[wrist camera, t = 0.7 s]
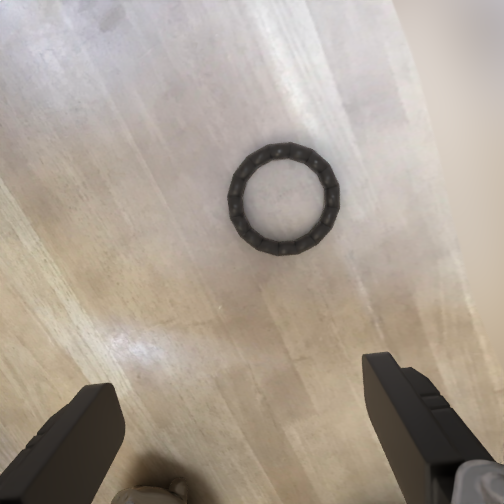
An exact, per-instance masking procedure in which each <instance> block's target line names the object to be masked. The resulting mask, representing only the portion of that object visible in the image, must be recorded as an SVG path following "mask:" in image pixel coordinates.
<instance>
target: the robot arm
mask: <svg viewBox="0 0 504 504" xmlns="http://www.w3.org/2000/svg"><path fill="white" fill-rule="evenodd" d="M362 369H363V384H364V397H365V403H366V408H367V412H368V415H369V418H370V420H371V423H372V425H373V427H374V430H375V432H376V434H377V436H378V439H379V441H380V443H381V446H382V448H383V450H384V452H385V455H386V457H387V459H388V462H389V464H390V466H391V468H392V471H393V473H394V475H395V477H396V480H397V482H398V484H399V487H400V489H401V491H402V493H403V496H404V498H405V500H406V503H407V504H504V465H503V464H500V463H497V462H496V461H495V460H494V459H493V458H492V456H491V455H490V454H489V453H488V451H487V450H486V449H485V448H484V447H483V445H482V444H481V443H480V442H479V440H478V439H477V438H476V437H475V435H474V434H473V433H472V432H471V430H470V429H469V428H468V427H467V426H466V424H465V423H464V422H463V421H462V419H461V418H460V417H459V416H458V414H457V413H456V412H455V411H454V409H453V408H451V407H450V405H449V403H448V402H447V401H446V400H445V398H444V397H443V396H442V395H440V392H439V391H438V390H437V388H436V387H435V386H434V385H433V383H432V382H431V381H430V380H429V379H428V378H427V377H426V376H424V375H423V374H421V373H419V372H418V371H416V370H415V369H413V368H412V367H408V368H400V367H399V365H398V364H397V362H396V361H395V359H394V358H393V357H392V355H391V354H390V353H389V352H380V353H371V354H363V355H362ZM124 435H125V420H124V417H123V414H122V411H121V407H120V404H119V401H118V398H117V395H116V392H115V388H114V386H113V385H112V384H111V383H101V384H93V385H86V386H84V387H83V388H82V389H81V390H80V391H79V392H78V393H77V395H76V396H75V397H74V398H73V399H72V400H71V402H70V403H69V404H67V405H66V406H64V407H63V408H62V409H61V410H59V411H58V412H57V413H55V414H54V415H53V416H52V417H50V418H49V420H48V421H47V422H46V423H45V424H44V425H43V427H42V428H41V429H40V430H39V431H38V432H37V436H34V437H33V438H32V439H31V440H30V442H29V443H28V444H27V445H26V448H25V449H24V450H22V451H21V452H20V453H19V454H18V455H17V457H16V458H15V459H14V460H13V461H12V462H11V464H10V465H9V466H8V467H7V468H6V469H5V470H4V472H3V473H2V474H1V475H0V504H91V503H92V501H93V499H94V497H95V495H96V493H97V491H98V489H99V487H100V485H101V483H102V481H103V479H104V477H105V475H106V474H107V472H108V470H109V468H110V466H111V464H112V462H113V460H114V458H115V456H116V454H117V452H118V450H119V448H120V446H121V444H122V442H123V439H124Z"/></svg>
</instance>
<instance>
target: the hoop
mask: <svg viewBox="0 0 504 504" xmlns="http://www.w3.org/2000/svg"><path fill="white" fill-rule="evenodd" d="M287 158H289V159H293V160H296V161H299V162H302V163H305V164H306V165H307V166H308V167H309V168H311V169H312V170H313V171H314V172H315V173H316V174H317V175H318V177H319V179H320V181H321V183H322V186H323V188H324V194H325V207H324V210H323V213H322V215H321V218H320V221H319V222H318V223H317V225H316V226H315V227H314V228H313V229H312V230H311V231H310V232H309V233H308V234H306V235H304V236H302V237H300V238H299V239H297V240H295V241H285V242H276V241H273V240H270V239H267V238H263V237H262V236H261V235H260V234H258V233H257V232H256V231H255V230H254V229H252V228H251V226H250V224H249V223H248V221H247V219H246V217H245V215H244V212H243V202H242V196H243V192H244V189H245V185H246V182H247V180H248V179H249V178H250V177H251V175H252V174H253V173H254V172H255V170H256V169H257V168H259V167H260V166H262V165H264V164H266V163H268V162H269V161H271V160H277V159H287ZM227 198H228V206H229V215H230V219H231V221H232V223H233V224H234V226H235V228H236V230H237V232H238V234H239V235H240V237H241V238H242V239H244V240H245V241H246V242H247V243H249V244H250V245H251V246H252V247H254V248H255V249H256V250H258V251H262V252H265V253H268V254H271V255H275V256H284V255H296V254H300V253H302V252H304V251H306V250H308V249H310V248H312V247H314V246H316V245H317V244H319V242H320V241H321V240H322V239H323V238H324V237H325V236H326V235H327V234H328V233H329V231H330V230H331V229H332V227H333V225H334V222H335V220H336V217H337V214H338V212H339V209H340V188H339V183H338V181H337V179H336V177H335V174H334V172H333V170H332V168H331V166H330V164H329V163H328V162H327V161H326V160H324V159H323V158H322V157H321V156H320V155H319V154H318V153H317V152H315V151H314V150H313V149H311V148H308V147H304V146H301V145H298V144H295V143H292V142H288V143H279V144H269V145H266V146H265V147H263V148H261V149H259V150H257V151H256V152H254V153H252V154H250V155H249V156H247V157H246V159H245V160H244V161H243V163H242V164H241V165H240V166H239V168H238V169H237V170H236V172H235V173H234V174H233V177H232V181H231V185H230V188H229V192H228V196H227Z"/></svg>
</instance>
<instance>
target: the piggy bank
mask: <svg viewBox="0 0 504 504" xmlns="http://www.w3.org/2000/svg"><path fill="white" fill-rule="evenodd" d="M187 491H188V485H187V481H186V480H185V479H183V478H176V479H174V480H173V481H172V483H171V484H170V486H169V488H168V490H167V489H163V488H159V487H144V486H142V485H136V486H134V487H133V488H127V489H124V490H121V491H120V492H118V493H117V494H116V495H115V496H114V498H113V499H112V501H111V504H188V503H187Z"/></svg>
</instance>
